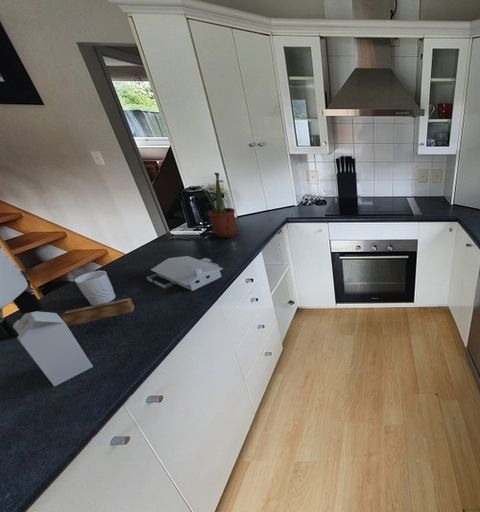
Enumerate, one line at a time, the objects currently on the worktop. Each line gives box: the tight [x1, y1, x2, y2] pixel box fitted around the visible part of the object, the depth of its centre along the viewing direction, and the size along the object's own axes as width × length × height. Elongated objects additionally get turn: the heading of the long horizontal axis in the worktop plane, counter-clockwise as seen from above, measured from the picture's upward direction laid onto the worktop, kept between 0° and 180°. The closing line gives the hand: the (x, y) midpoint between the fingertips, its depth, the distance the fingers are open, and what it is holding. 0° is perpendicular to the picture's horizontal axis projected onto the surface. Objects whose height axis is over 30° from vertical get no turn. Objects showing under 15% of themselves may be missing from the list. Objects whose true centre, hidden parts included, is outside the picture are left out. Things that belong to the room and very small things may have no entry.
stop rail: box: [60, 297, 136, 327], centre depth 89 cm, size 16×3×5 cm, turn 118°
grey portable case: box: [145, 255, 224, 292], centre depth 114 cm, size 25×24×7 cm
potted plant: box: [191, 172, 238, 240], centre depth 144 cm, size 17×16×35 cm
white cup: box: [74, 270, 117, 306], centre depth 96 cm, size 8×8×10 cm
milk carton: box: [12, 311, 94, 387], centre depth 66 cm, size 7×7×19 cm
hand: (21, 324), depth 56 cm, fingers open, 9 cm apart
